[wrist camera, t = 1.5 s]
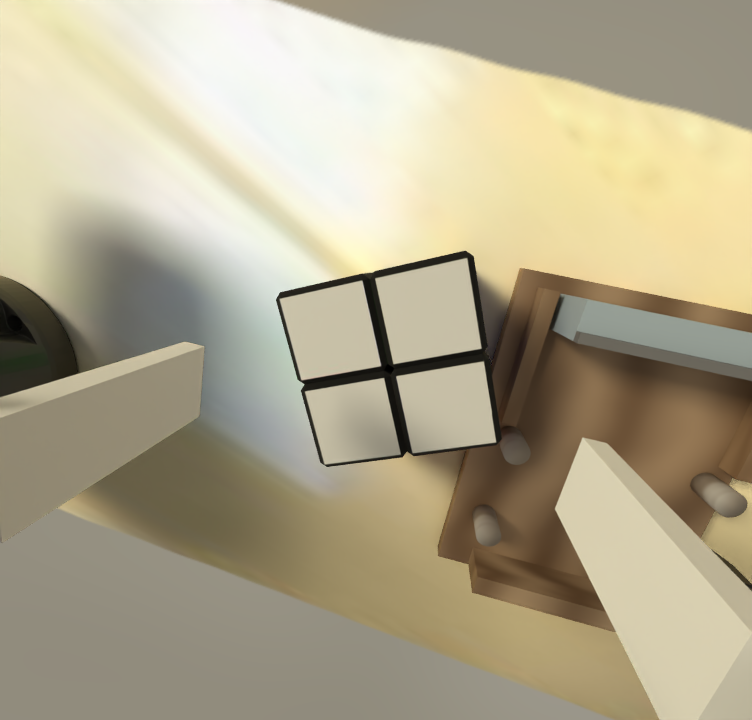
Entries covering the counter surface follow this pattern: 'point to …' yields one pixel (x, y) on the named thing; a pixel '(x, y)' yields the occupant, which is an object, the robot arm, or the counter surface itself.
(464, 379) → the puzzle cube
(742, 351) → the bar
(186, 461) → the counter surface
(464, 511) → the base
